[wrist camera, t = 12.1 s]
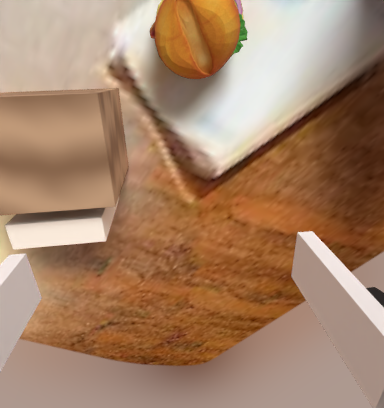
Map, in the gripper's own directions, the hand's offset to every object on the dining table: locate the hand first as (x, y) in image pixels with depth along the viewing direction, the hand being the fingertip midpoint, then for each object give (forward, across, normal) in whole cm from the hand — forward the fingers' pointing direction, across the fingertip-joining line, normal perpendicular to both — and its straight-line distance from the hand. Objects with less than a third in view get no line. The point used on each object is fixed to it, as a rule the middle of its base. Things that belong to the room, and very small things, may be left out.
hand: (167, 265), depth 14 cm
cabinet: (+28, -13, -1) cm, 31 cm away
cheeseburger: (+29, +5, +14) cm, 32 cm away
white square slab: (+28, -13, -7) cm, 32 cm away
